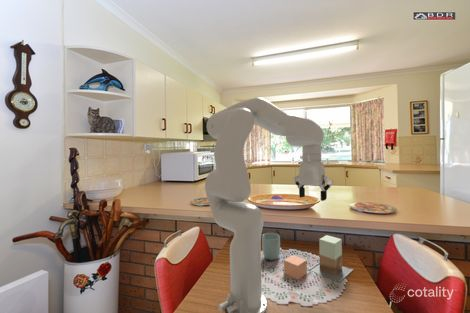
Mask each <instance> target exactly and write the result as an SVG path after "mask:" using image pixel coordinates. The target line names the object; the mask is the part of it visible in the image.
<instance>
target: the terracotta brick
mask: <svg viewBox="0 0 470 313" xmlns="http://www.w3.org/2000/svg"><path fill="white" fill-rule="evenodd" d="M307 261H308V260H307V259H305V258H302V257H300V256H297V255H294V254H292V255H290V256H289V257H287V258H285V259H284V260H283V273H284V275H287V276H289V277H291V278H293V279H295V280H297V281H298V280H300V279H302V278H303V277H304V276H305V275H307V273H308V268H307V267H308V266H307V264H308V262H307Z"/></svg>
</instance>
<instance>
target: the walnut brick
mask: <svg viewBox="0 0 470 313" xmlns="http://www.w3.org/2000/svg"><path fill="white" fill-rule="evenodd" d="M319 261H320V270H322V271H324V272H327V273H329V274H332V275H334V276H336V275H337V274H338V273H339V272H340V271H342V266H343V254H342V255H341V256H339V257H338V258H337V259H335V260H334V259H331V258H328V257H325V256H323V255H320V254H319Z"/></svg>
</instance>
